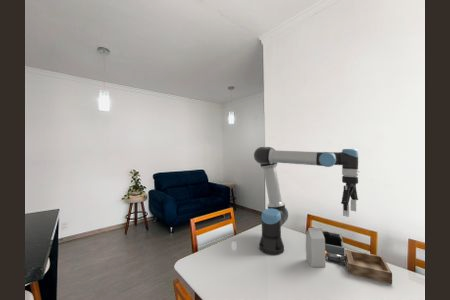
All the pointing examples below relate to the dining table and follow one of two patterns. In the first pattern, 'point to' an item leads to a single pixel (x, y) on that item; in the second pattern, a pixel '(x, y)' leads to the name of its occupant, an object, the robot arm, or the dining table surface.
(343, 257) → the lock pin
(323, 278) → the dining table surface
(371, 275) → the wooden tray
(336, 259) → the pin mount
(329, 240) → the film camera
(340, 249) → the valet tray
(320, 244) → the milk carton
